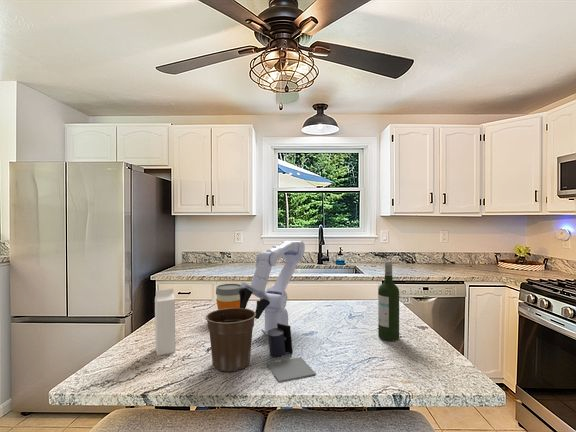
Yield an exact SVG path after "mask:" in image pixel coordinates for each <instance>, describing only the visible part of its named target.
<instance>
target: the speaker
mask: <svg viewBox="0 0 576 432" xmlns="http://www.w3.org/2000/svg"><path fill="white" fill-rule="evenodd" d="M291 328H292V327H291V325H289V324H288V325H285V324H280V323H277V328H273V329H271V330H269V331H268V335H267V338H268V339H267V340H268V350H269V356H270V357H271V358H274V359H279V358H283V357H284V356H285V355H287V353H288V354H290V355H293V354H294V353H293V342H292V330H291Z"/></svg>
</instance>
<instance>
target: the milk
mask: <svg viewBox="0 0 576 432" xmlns="http://www.w3.org/2000/svg"><path fill="white" fill-rule="evenodd" d="M154 332H155V333H154V337H155V338H154V339H155V340H154V342H155V344H154V346H155V348H154V349H155V352H156V354H157V356H158V357H159V356H163V355H168V354H173V353H176V298H175V294H174V289H173V288H168V289H158V290H155V296H154Z"/></svg>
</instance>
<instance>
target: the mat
mask: <svg viewBox="0 0 576 432" xmlns="http://www.w3.org/2000/svg"><path fill="white" fill-rule="evenodd" d="M266 365H267V367H268V368H269V370H270V371H271V373H272V374H273V377H275V379H276V381H277V382H278V383H282V382H287V381H292V380H297V379H302V378H307V377H312V376H313V377H314V376H316V375H317V372H315V371H314V370H313V369H312V367H311V366H310V365H309V364H308V363H307V362H306V360H304V359H303V358H302V357H301V356H300V357H295V358H294V357H293V358H289V359H288V358H287V359H283V360H282V359H281V360H277V361H271V362H267V363H266Z"/></svg>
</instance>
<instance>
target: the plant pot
mask: <svg viewBox="0 0 576 432" xmlns="http://www.w3.org/2000/svg"><path fill="white" fill-rule="evenodd" d="M255 316H256V313H255V310H253V309H249V308H226V309H220V310H218V309H217V310H213V311H210V312H209V313H207V314H205V320H206V322H207V328H208V331H209V339H210V340H209V341H210V352H211V361H212V364H211V365H212V367H213V368H214V369H215V370H216V371H220V372H226V373H227V372H228V373H229V372H237V371H238V370H239V369H240V370H243V369H245V368H247V367H248V366H249V365H250V363H251V355H252V354H251V353H252V342H253V340H252V339H253V331H254V330H253V328H254V326H255V319H256V318H255Z"/></svg>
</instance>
